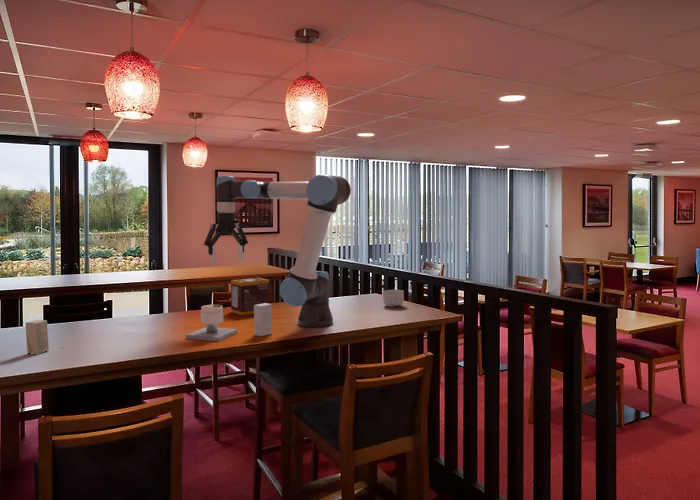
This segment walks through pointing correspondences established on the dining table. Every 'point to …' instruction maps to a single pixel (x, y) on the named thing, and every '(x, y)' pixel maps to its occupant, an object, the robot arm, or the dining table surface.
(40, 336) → the box
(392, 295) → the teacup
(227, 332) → the board
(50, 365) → the dining table surface
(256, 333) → the skincare box
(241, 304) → the supplement box
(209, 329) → the post
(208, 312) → the white lidded jar
